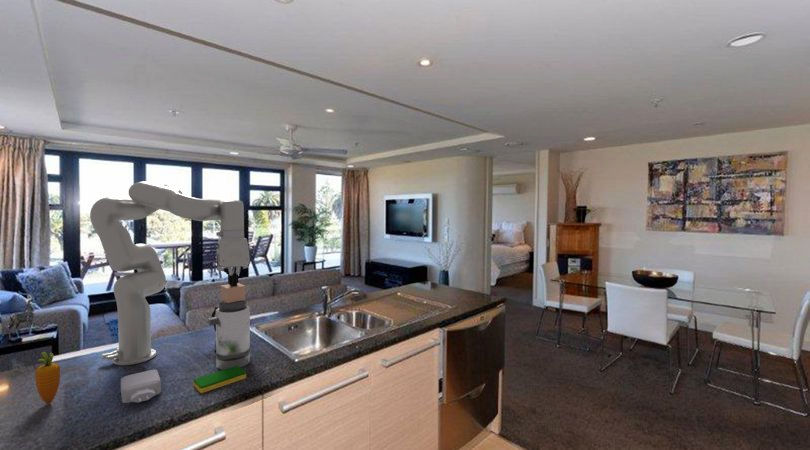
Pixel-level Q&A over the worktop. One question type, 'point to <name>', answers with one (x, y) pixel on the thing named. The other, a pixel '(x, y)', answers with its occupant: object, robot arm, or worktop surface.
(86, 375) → the worktop surface
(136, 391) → the charger
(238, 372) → the dish sponge
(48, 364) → the carrot
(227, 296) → the airpot button
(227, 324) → the airpot
